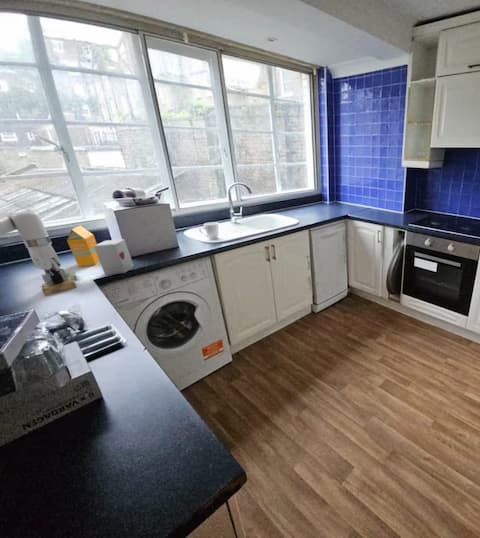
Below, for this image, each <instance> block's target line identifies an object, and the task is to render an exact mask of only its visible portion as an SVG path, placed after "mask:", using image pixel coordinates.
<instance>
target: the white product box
mask: <svg viewBox="0 0 480 538" xmlns="http://www.w3.org/2000/svg"><path fill="white" fill-rule="evenodd" d="M94 248H95V251H96V253H97V256H98V258H99V261H100V262H99V263H100V266H101V269H102V270H103V273H104V276H105V275H106V276H107V275H118V274H120V275H121V274H125V273H127V272H128V271H130V270H131V269H133V268H134V267H135V266H134V262H133V259H132V257H131V254H130V251H129V249H128V246H127V243H126V240H125V239H124V238H123V239H121V238H120V239H109V240H108V239H107V240H103V241H102V242H99V243H97V245H95V246H94Z"/></svg>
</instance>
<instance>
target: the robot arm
mask: <svg viewBox="0 0 480 538" xmlns="http://www.w3.org/2000/svg"><path fill="white" fill-rule="evenodd" d="M14 231H17V232H18V233H19V236H20V238H21V240H22V242H23V244H24V245H25V248H26V249H27V251H28V255H29V256H30V258H31V261H32V263H33V265H34V267H35V268H36V269H40V270H43V271H44V273H45V274H47V273H50V274H51V278H52V280H53V282H54V284H57V283H60V282H63V281H64V280H63V278H62V276H61V274H60V271H59V270H61V269H62V268H61V266H62V263H61V261H60V259H59V256H58V255H57V253H56V251H55V249H54V248H53V246H52V243H53V242H52V239H51V238H50V235H49V233H48V232H47V229H46V228H45V225H44V223H43V220H42V219H41V216H40V215H39V212H37V211H34V210H27V211H19V212H0V237H2V236H4V235H6V234H8V233H12V232H14Z"/></svg>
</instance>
